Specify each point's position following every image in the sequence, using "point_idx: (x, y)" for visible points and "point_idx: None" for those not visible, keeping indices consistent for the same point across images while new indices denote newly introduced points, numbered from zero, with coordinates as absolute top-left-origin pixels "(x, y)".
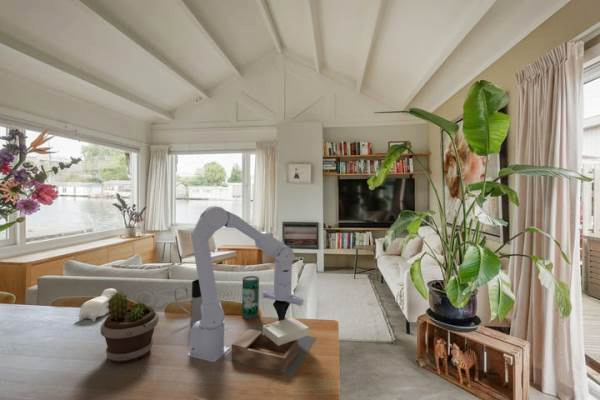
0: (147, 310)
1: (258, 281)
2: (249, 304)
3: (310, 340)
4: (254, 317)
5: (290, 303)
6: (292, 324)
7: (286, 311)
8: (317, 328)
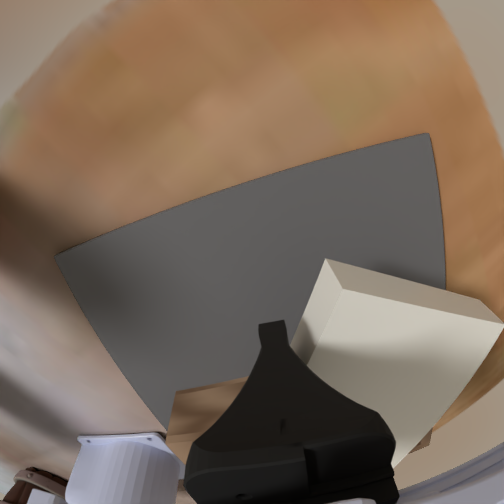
0: None
1: None
2: None
3: (416, 185)
4: None
5: (374, 412)
6: (408, 373)
7: (310, 370)
8: (352, 8)
